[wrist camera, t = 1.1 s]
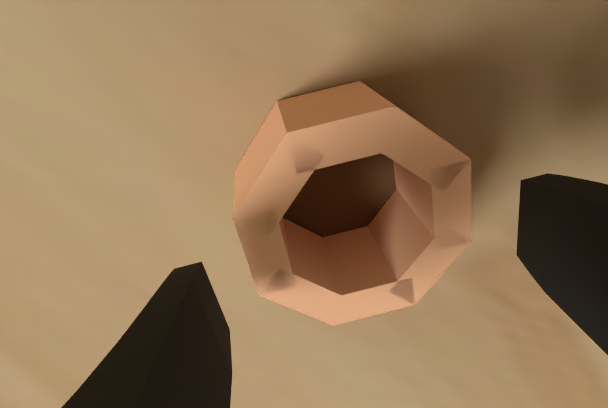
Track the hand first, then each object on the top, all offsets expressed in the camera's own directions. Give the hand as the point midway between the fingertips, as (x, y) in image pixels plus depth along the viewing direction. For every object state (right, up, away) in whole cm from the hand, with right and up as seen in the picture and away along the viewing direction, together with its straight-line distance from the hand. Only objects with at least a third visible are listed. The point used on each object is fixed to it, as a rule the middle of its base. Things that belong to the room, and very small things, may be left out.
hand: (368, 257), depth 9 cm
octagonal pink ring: (0, +2, +4) cm, 4 cm away
